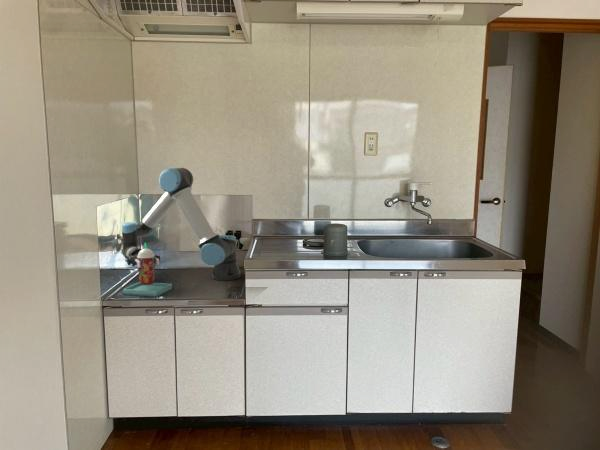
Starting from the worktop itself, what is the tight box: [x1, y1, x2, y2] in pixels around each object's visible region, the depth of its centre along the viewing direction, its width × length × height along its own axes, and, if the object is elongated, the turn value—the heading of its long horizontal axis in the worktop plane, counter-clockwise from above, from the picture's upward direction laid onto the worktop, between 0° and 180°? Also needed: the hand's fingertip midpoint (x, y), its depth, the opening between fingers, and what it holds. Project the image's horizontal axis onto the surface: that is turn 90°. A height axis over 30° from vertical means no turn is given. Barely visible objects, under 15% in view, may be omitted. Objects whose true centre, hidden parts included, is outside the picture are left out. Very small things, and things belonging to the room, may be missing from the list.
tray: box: [122, 281, 173, 298], centre depth 222 cm, size 18×14×2 cm
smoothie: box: [137, 242, 156, 285], centre depth 220 cm, size 8×8×20 cm
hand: (149, 263), depth 216 cm, fingers closed on smoothie, 8 cm apart
